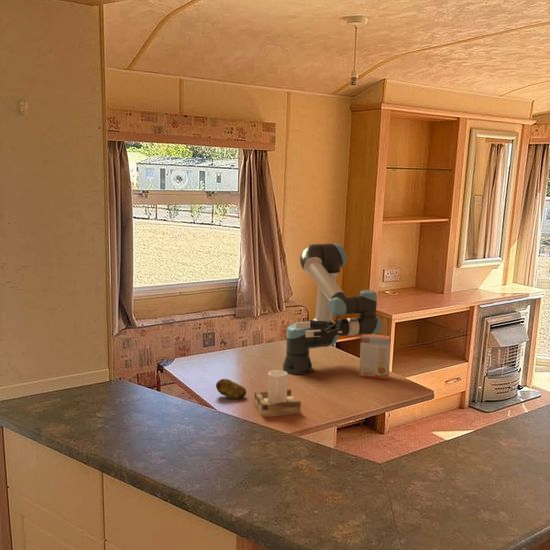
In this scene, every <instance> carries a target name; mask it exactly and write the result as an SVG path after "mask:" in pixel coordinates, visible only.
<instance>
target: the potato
mask: <svg viewBox="0 0 550 550" xmlns="http://www.w3.org/2000/svg"><path fill="white" fill-rule="evenodd" d="M215 388H216V390H217V392H218V393H219V394H221V395H222V396H225V397H226V398H228V399H233V400H237V399H238V400H239V399H241V398H243V397H245V396H246V395H247V389H246V388H245V387H244V386H242V385H241V384H239V383H236V382H234V381H232V380H230V379H228V378H222V379H219V380H218V381H217V382H216V384H215Z"/></svg>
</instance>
